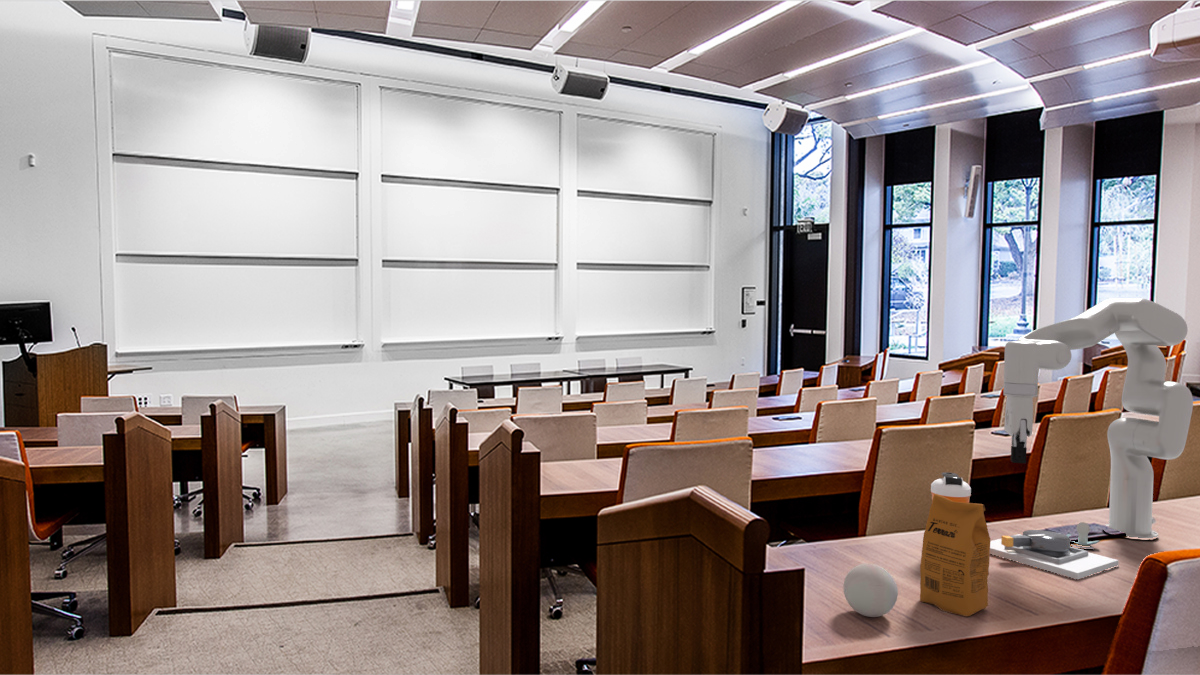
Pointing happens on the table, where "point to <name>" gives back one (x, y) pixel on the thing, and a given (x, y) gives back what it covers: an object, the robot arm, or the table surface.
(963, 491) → the shaker bottle
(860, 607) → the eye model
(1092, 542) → the pacifier
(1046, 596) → the table surface
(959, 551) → the coffee package
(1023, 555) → the panel
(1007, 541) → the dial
